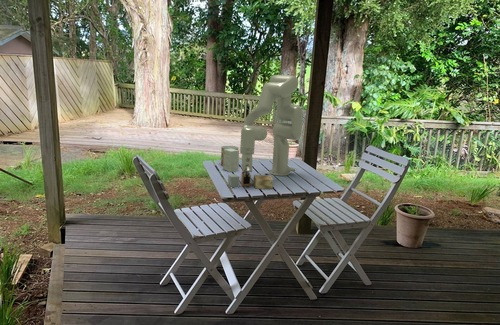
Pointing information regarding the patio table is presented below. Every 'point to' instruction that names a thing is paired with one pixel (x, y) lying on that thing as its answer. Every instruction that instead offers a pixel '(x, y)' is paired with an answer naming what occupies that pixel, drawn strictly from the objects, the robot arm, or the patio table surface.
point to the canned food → (223, 151)
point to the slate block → (233, 180)
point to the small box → (231, 160)
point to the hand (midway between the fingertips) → (245, 181)
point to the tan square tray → (263, 182)
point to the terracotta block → (243, 180)
